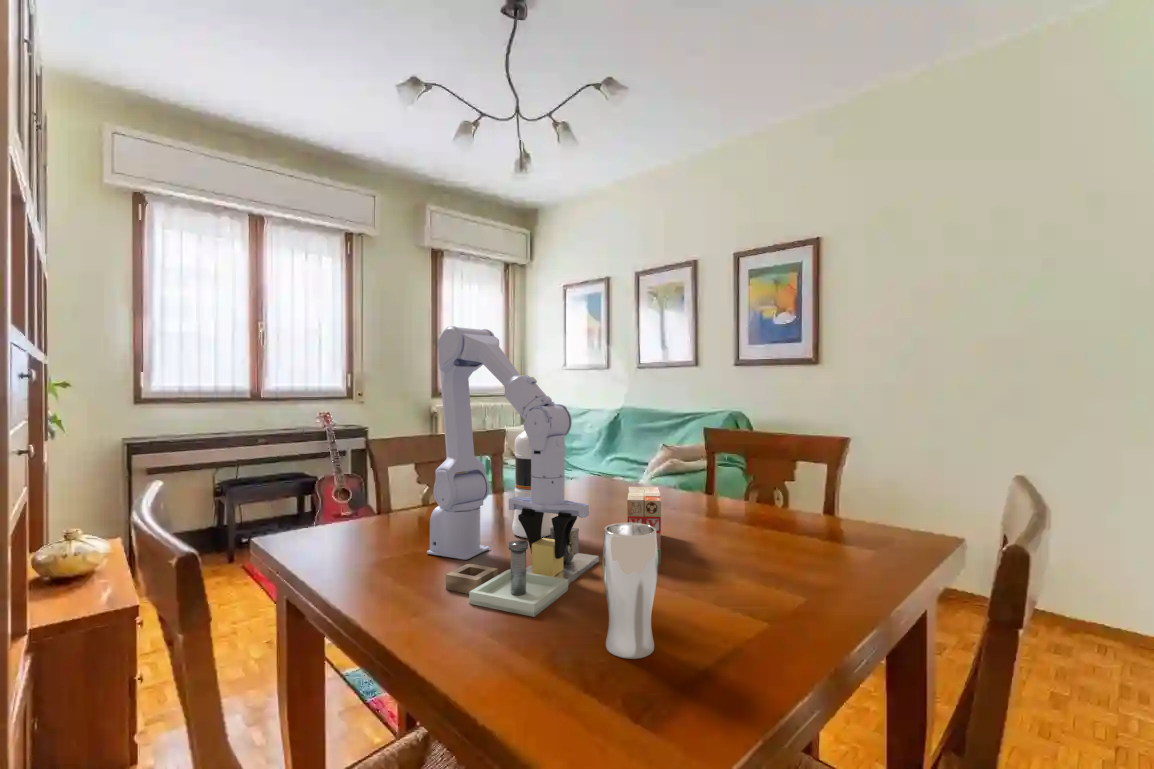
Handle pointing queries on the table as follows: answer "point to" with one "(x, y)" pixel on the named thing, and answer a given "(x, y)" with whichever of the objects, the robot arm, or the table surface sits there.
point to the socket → (469, 577)
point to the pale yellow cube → (545, 558)
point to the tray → (532, 603)
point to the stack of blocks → (645, 509)
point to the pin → (518, 567)
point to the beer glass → (630, 587)
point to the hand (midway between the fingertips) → (547, 555)
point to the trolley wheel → (572, 558)
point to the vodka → (525, 485)
